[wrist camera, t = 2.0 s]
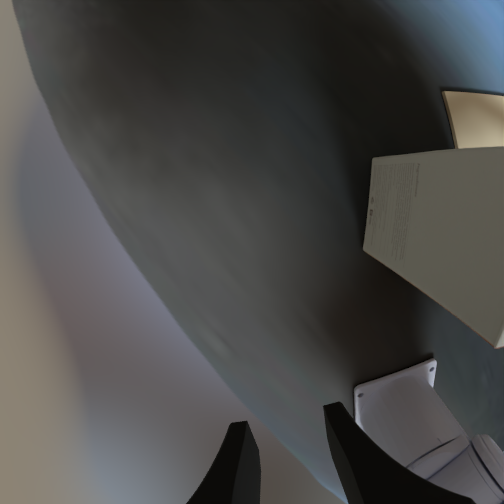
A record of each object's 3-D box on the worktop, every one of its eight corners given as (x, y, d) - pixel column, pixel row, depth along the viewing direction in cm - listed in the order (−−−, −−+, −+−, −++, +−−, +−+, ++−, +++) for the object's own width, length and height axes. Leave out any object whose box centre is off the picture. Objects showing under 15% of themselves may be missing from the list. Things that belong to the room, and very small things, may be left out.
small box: (360, 251, 19) (492, 354, 6) (370, 156, 17) (531, 138, 5) (450, 258, 19) (576, 328, 6) (460, 177, 17) (602, 194, 5)
